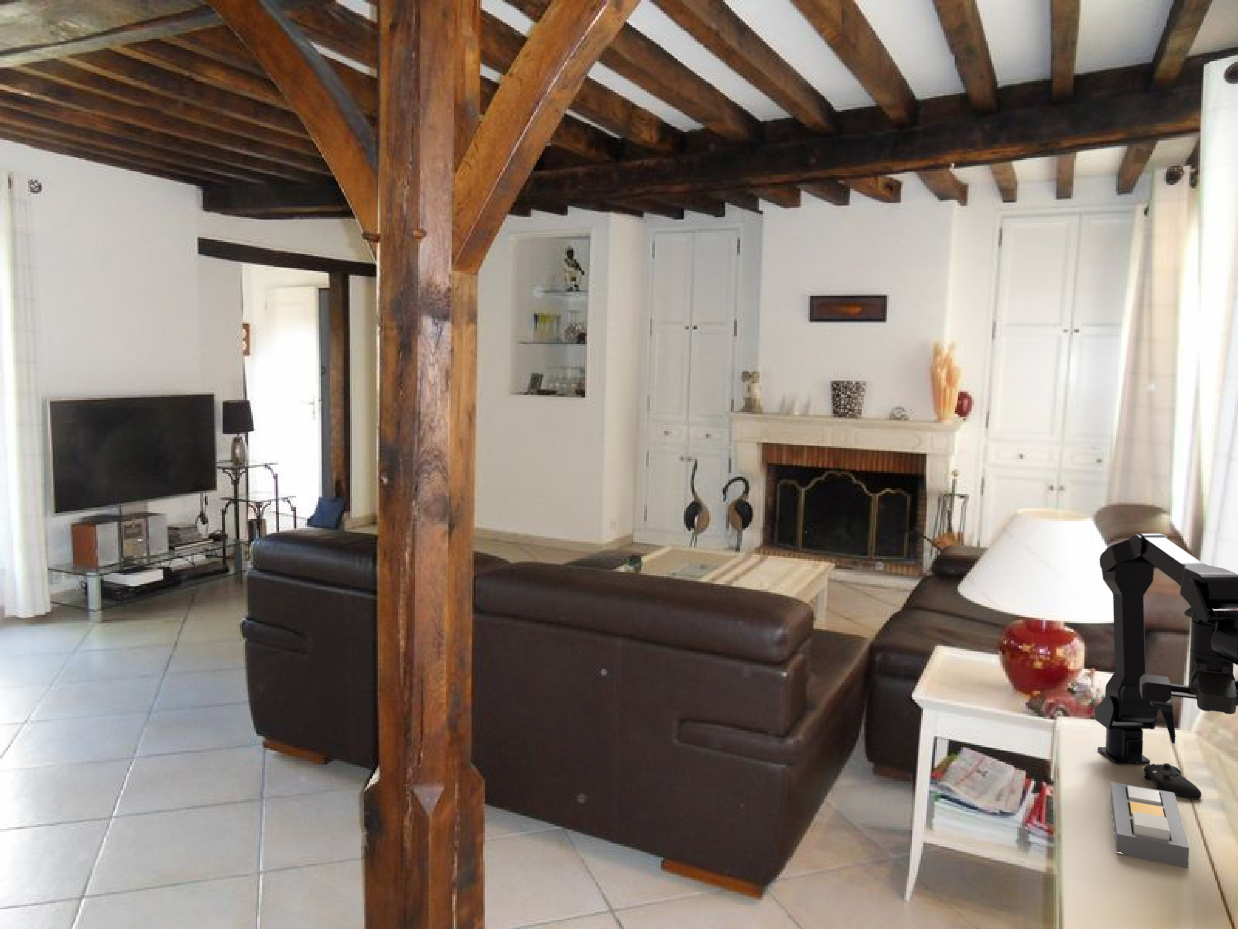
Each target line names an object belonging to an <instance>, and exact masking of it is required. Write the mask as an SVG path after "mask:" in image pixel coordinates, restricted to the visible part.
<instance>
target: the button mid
mask: <svg viewBox="0 0 1238 929" xmlns="http://www.w3.org/2000/svg"><path fill="white" fill-rule="evenodd" d="M1133 811H1134V812H1139V813H1145V814H1150V815H1156V816H1161V817H1165V816H1164V812H1163V808H1162V807H1160V806H1154V805H1148V804H1143V803H1137V802H1131V801H1130V810H1129V814H1130V816H1132V817H1133Z"/></svg>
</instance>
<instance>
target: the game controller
mask: <svg viewBox="0 0 1238 929" xmlns="http://www.w3.org/2000/svg"><path fill="white" fill-rule="evenodd" d="M1143 771H1144V775H1143V779H1144V780H1149V781H1153V782H1154V783H1155V785H1156V786H1155V790H1161V791H1167V792H1173V793H1175V795H1178V796H1180V797H1184V798H1186V797H1187V799H1191V798H1193V799H1192V800H1200V799H1201V798H1202V792H1201V790H1200V789H1199V788H1198V786H1196V785H1195V784H1194V783H1192V782H1191V781H1190V780H1189V779H1187V778H1185V777H1184V776H1183V775H1182V771H1181V769H1180V768H1178V767H1177V766H1174V765H1171V764H1170V763H1168V762H1167V763H1166V762H1165V763H1163V764H1160V763H1159V764H1156V763H1152V764H1147V765H1145V767H1143ZM1199 798H1200V799H1199Z"/></svg>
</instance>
